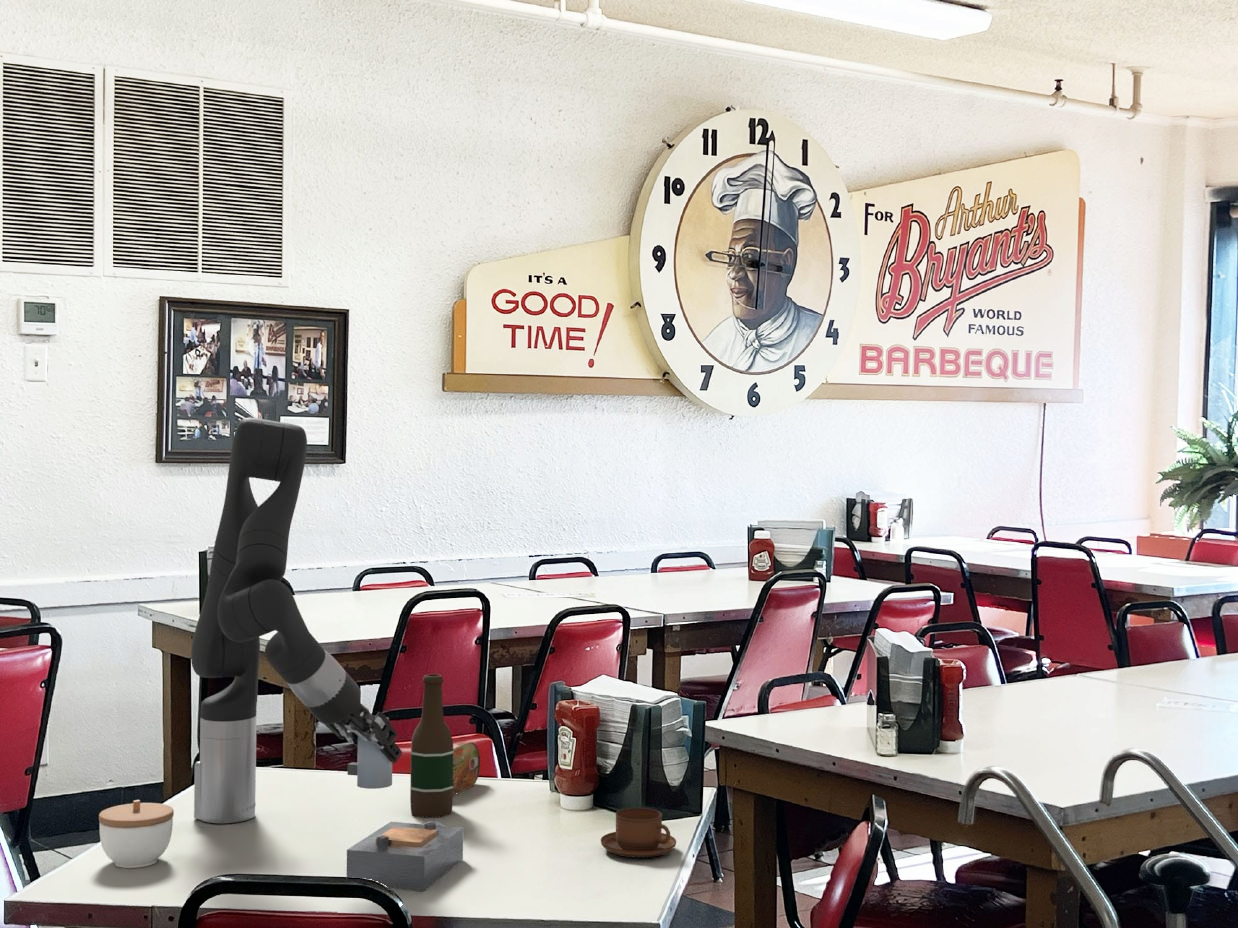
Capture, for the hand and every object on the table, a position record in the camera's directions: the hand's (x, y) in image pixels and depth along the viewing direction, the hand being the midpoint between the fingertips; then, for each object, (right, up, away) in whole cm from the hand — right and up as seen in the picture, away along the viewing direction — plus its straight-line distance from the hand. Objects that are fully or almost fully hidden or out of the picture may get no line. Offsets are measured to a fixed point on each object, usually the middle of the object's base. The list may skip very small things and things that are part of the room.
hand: (384, 754), depth 209 cm
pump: (-1, -4, -1) cm, 5 cm away
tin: (+5, -17, +47) cm, 50 cm away
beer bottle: (+3, -17, +31) cm, 35 cm away
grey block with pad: (+4, -17, -1) cm, 17 cm away
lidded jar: (-38, -16, -1) cm, 41 cm away
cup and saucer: (+39, -18, +9) cm, 43 cm away
